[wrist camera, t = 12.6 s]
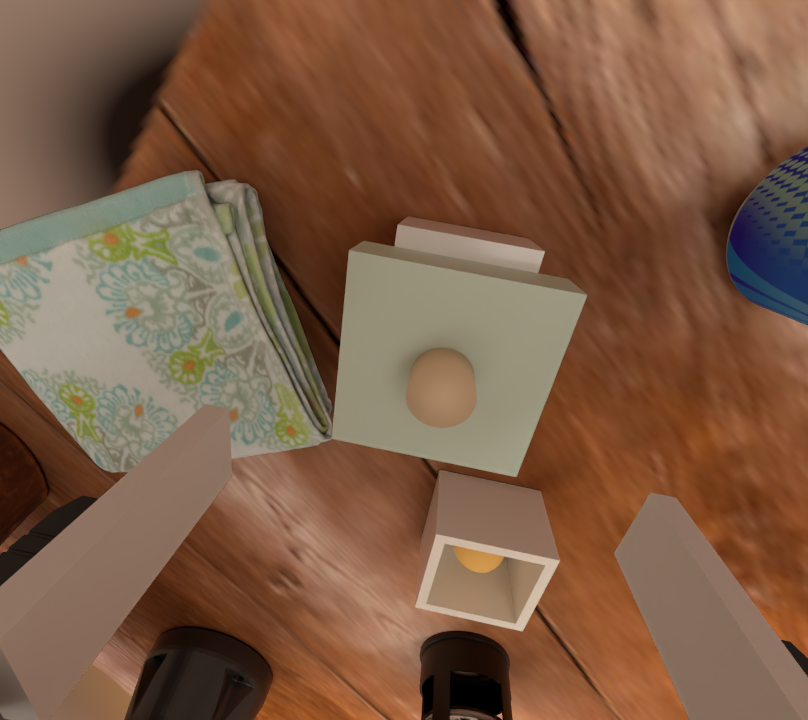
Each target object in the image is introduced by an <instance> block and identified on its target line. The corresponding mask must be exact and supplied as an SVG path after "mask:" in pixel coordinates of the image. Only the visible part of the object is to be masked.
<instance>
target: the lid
mask: <svg viewBox="0 0 808 720" xmlns="http://www.w3.org/2000/svg"><path fill="white" fill-rule="evenodd" d="M586 298H587V294H586V293H584V292H583V291H582V290H581V289H580V288H579V287H577V286H576V285H575V284H574V283H573V282H572V281H570V280H569V279H566V278H561V277H555V276H550V275H545V274H539V273H534V272H529V271H523V270H518V269H512V268H507V267H502V266H496V265H491V264H486V263H480V262H475V261H470V260H464V259H459V258H454V257H448V256H443V255H437V254H432V253H427V252H421V251H416V250H411V249H405V248H400V247H395V246H389V245H384V244H379V243H373V242H368V241H362V242H361V243H359V244H358V245H356V246H355V247H353V248H352V249H350V250H349V255H348V266H347V276H346V287H345V298H344V309H343V320H342V331H341V342H340V353H339V364H338V375H337V386H336V397H335V408H334V419H333V430H332V439H335V440H340V441H345V442H350V443H355V444H359V445H364V446H369V447H374V448H379V449H383V450H388V451H393V452H398V453H403V454H407V455H412V456H417V457H422V458H427V459H431V460H436V461H441V462H446V463H451V464H455V465H460V466H465V467H470V468H475V469H479V470H484V471H489V472H494V473H499V474H503V475H508V476H513V477H517V474H518V472H519V469H520V467H521V464H522V461H523V459H524V456H525V454H526V451H527V449H528V446H529V444H530V441H531V438H532V436H533V433H534V431H535V428H536V426H537V423H538V420H539V418H540V415H541V413H542V410H543V408H544V405H545V403H546V400H547V397H548V395H549V392H550V390H551V387H552V385H553V382H554V379H555V377H556V374H557V372H558V369H559V367H560V364H561V362H562V359H563V356H564V354H565V351H566V349H567V346H568V344H569V341H570V338H571V336H572V333H573V331H574V328H575V326H576V323H577V321H578V318H579V315H580V313H581V310H582V308H583V305H584V303H585V300H586Z"/></svg>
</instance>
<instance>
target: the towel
mask: <svg viewBox="0 0 808 720" xmlns="http://www.w3.org/2000/svg"><path fill="white" fill-rule="evenodd" d="M0 349H1V351H2V352H3V353H4V354H5V355H6V357H7V358H8V359H9V361H10V362H11V363H12V364H13V365H14V367H15V368H16V369H17V371H18V372H19V373H20V374H21V375H22V377H23V378H24V379H25V381H26V382H27V383H28V385H29V386H30V387H31V389H32V390H33V391H34V392H35V394H36V395H37V396H38V398H39V399H40V400H41V401H42V402H43V403H44V404H45V406H46V407H47V408H48V409H49V410H50V411H51V412H52V413H53V415H54V416H55V417H56V418H57V420H58V421H59V422H60V423H61V424H62V425H63V427H64V428H65V429H66V431H67V432H69V434H70V435H71V436H72V437H73V438H74V440H75V441H76V442H77V443H78V444H79V445H80V446H81V447H82V449H83V450H84V451H85V452H86V453H87V454H88V456H89V457H90V458H91V459H92V460H93V461H94V462H95V463H96V464H97V465H98V466H99V467H100V468H102V469H103V470H105V471H109V472H112V473H113V472H129V471H130V470H132V469H133V468H134V467H135V466H136V465H137V464H138V463H139V462H141V461H142V460H143V459H144V458H145V457H146V456H147V455H148V454H149V453H151V452H152V451H153V450H154V449H155V448H156V447H157V446H158V445H160V444H161V443H162V442H163V441H164V440H165V439H166V438H167V437H169V436H170V435H171V434H172V433H173V432H174V431H175V430H176V429H178V428H179V427H180V426H181V425H182V424H183V423H184V422H185V421H187V420H188V419H189V418H190V417H191V416H192V415H193V414H194V413H196V412H197V411H198V410H199V409H200V408H201V407H202V406H203V405H204V404H209V405H214V406H219V407H224V408H229V418H230V439H231V459H236V458H243V457H249V456H255V455H261V454H266V453H275V452H281V451H288V450H293V449H300V448H306V447H311V446H316V445H319V444H320V443H322V442H326V441H329V440H331V439H332V422H331V416H330V414H331V411H332V409H333V408H332V403H331V401H330V399H329V398H328V395H327V391H326V389H325V387H324V384H323V382H322V379H321V377H320V374H319V372H318V369H317V366H316V363H315V361H314V358H313V355H312V352H311V350H310V347H309V344H308V341H307V339H306V336H305V333H304V330H303V328H302V325H301V322H300V320H299V317H298V314H297V312H296V309H295V307H294V305H293V303H292V300H291V298H290V296H289V294H288V291H287V289H286V287H285V284H284V282H283V280H282V277H281V275H280V273H279V269H278V267H277V265H276V262H275V260H274V257H273V254H272V252H271V249H270V247H269V245H268V242H267V239H266V233H265V227H264V221H263V213H262V207H261V204H260V202H259V200H258V193H257V191H256V189H255V188H253V187H251V186H250V185H249V184H247V183H238V182H237V180H235V179H229V180H224V181H220V182H213V183H207V184H205V180H204V177H203V175H202V173H201V172H200V171H198V170H192V171H183V172H180V173H177V174H172V175H168V176H165V177H161V178H158V179H156V180H153V181H150V182H147V183H144V184H141V185H138V186H135V187H133V188H129V189H126V190H123V191H121V192H118V193H115V194H112V195H108V196H105V197H102V198H99V199H96V200H93V201H91V202H88V203H85V204H81V205H78V206H74V207H70V208H66V209H62V210H59V211H55V212H52V213H49V214H45V215H42V216H39V217H36V218H33V219H29V220H26V221H23V222H20V223H17V224H14V225H12V226H9V227H6V228H3V229H0Z"/></svg>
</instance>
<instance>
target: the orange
mask: <svg viewBox="0 0 808 720" xmlns="http://www.w3.org/2000/svg"><path fill="white" fill-rule="evenodd" d="M453 547H454V551H455V554H456V556H457V558H458V560H459V561H460V562H461V563H462V564H463V565H464V566H465V567H466V568H468V569H469V570H471V571H474V572H478V573H486V572H490V571H492V570H494V569H495V568H497V567H498V566H499V565H500V564H501V562H502V561H503V559H504V556H500V555H495V554H491V553H486V552H481V551H477V550H472V549H467V548H463V547H458V546H454V545H453Z"/></svg>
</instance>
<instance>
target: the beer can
mask: <svg viewBox="0 0 808 720" xmlns="http://www.w3.org/2000/svg"><path fill="white" fill-rule="evenodd" d="M726 262H727V268H728V272H729V275H730V278H731V280H732V282H733V284H734V285H735V287H736V288H737V289H738V291H739V292H740V293H741V294H742V295H743V296H745V297H746V298H747V299H749V300H750V301H751V302H753V303H755V304H757V305H759V306H762V307H764V308H766V309H769V310H771V311H774V312H776V313H779V314H781V315H784V316H786V317H789V318H791V319H793V320H796V321H798V322H801V323H803V324H806V325H808V147H806V148H804V149H802V150H800V151H799V152H797V153H795V154H794V155H792V156H791V157H789V158H788V159H786V160H785V161H784V162H782V163H781V164H780V165H778V166H777V167H776V168H775V169H774V170H772V171H771V172H770V173H769V174H768V175H767V176H766V177H765V178H764V179H763V180H762V181H761V182H760V183H759V184H758V185H757V186H756V187H755V189H754V190H753V191H752V192H751V193H750V194H749V196H748V197H747V198H746V199H745V201H744V202H743V203H742V205H741V206H740V208H739V210H738V211H737V213H736V215H735V217H734V219H733V221H732V224H731V227H730V230H729V234H728V239H727V249H726Z"/></svg>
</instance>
